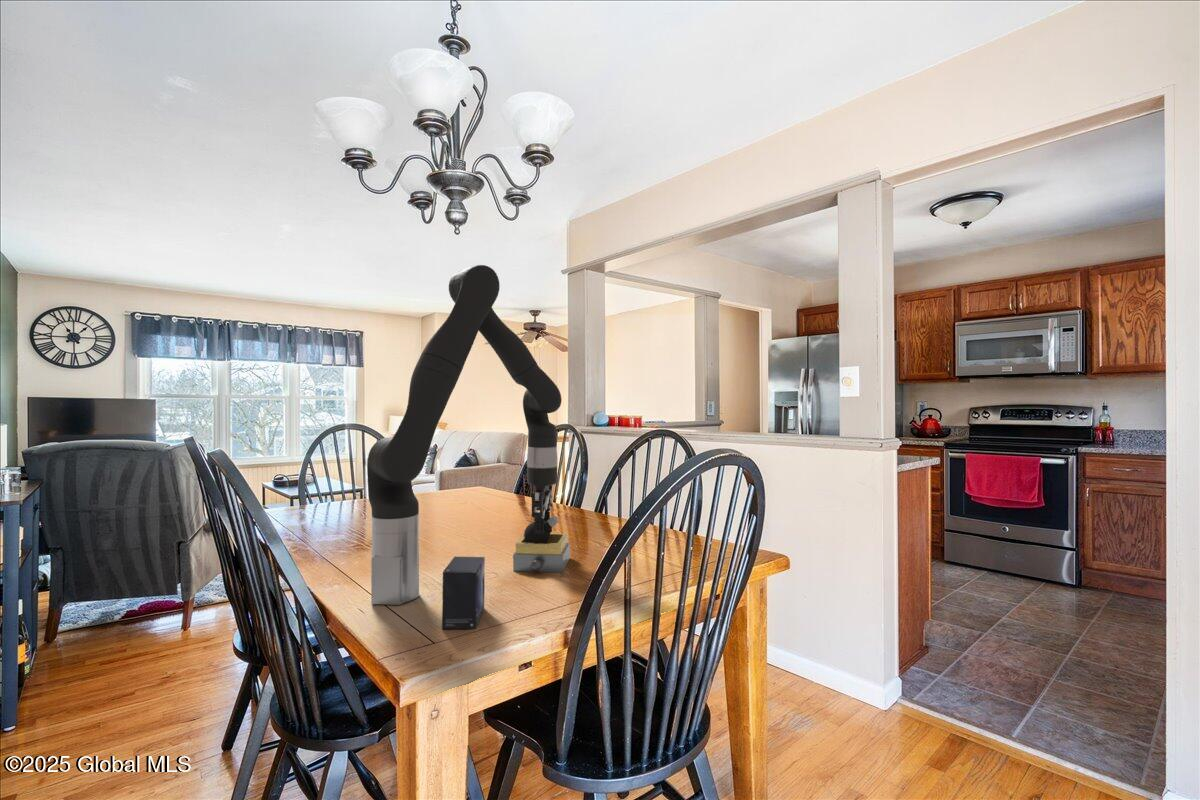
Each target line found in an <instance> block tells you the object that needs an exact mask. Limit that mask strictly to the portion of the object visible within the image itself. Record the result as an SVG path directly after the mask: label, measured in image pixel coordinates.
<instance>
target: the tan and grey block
mask: <svg viewBox="0 0 1200 800" xmlns="http://www.w3.org/2000/svg"><path fill="white" fill-rule="evenodd" d="M568 535H569V533H561V532H559V533H558V532H555V533H553V532H551V533H550V538H549V541H548V542H547V543H526V542H525V539H524V534H523V535H522V536H521V537H520V538H519V539H518V540H517V541H516V543H515V552H514V553H513V555H512V558H513V561H512V563H513V564H512V567H513V568H512V569H513V572H534V573H541V572H542V573H543V572H544V573H564V571H565V569H566V567H567V565H568V564H569V561H570V559H571V543H570V542H569V541H568V540H569V539H568V538H569V537H568Z"/></svg>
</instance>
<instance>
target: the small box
mask: <svg viewBox="0 0 1200 800" xmlns="http://www.w3.org/2000/svg"><path fill="white" fill-rule="evenodd" d="M485 561H486V560H485V556H454V557H453V558H452V559H451V560H450V562H449V563H448V564H447V566H446V567H445V569H443V571H442V592H441V593H442V596H441V597H442V602H441V603H442V610H441V611H442V612H441V613H442V614H441V630H473V629H474V630H475V629H476V628H477V625H479V621H480V619H481V617H482V614H483V612H484V610H485V587H486V586H485V579H486V577H485V576H486V575H485V571H486V570H485V569H486V568H485Z"/></svg>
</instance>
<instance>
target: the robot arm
mask: <svg viewBox="0 0 1200 800" xmlns="http://www.w3.org/2000/svg"><path fill="white" fill-rule="evenodd" d="M500 287H501V286H500V279H499V276H498V275H497V272H496V271H495V270H494V269H493V268H492V267H490V266H488V265H485V264H477V265H476V264H475V265H472V266H468V267H467V268H464V269H462V270H460V271H458V272H456V273H454V274H453V275H452V276H451V277H450V279H449V283H448V293H449V297H450V298H451V299H452V301H453V302H454V305H453V307H452V309H451V312H450V314H449V315H448V317H447V318H446V319H445V320H444V322H443V323H442V324H441V326H440V327H439V328H438V329H437V330H436V332H434V334H433V335H432V337H431V338H430V339H429V340H428V342H427V344H426V345H425V347H423V350H422V352H421V355H420V356H419V358H418V360H417V362H416V365H415V366H414V368H413V371H412V374H411V378H410V382H409V389H408V399H407V406H406V411H405V413H404V415H403V416H402V417H403V418H402V419H401V422H400V423H399V425H398V428H397V429H396V431H395V433H394V435H393V436H388V437H383V438H380V439H379V440H377V441H376V442H375V443H374V444H373V445H371V446H372V447H371V448H370V450H369V452H368V456H367V472H366V473H367V496H368V502H369V504H370V507H371V560H370V561H371V563H370V565H371V566H370V568H371V569H370V570H371V571H370V573H371V576H370V577H371V578H370V580H371V581H370V583H371V584H370V585H371V586H370V591H371V595H370V596H371V597H370V598H371V605H392V606H395V605H396V606H401V605H403V604H404V603H407V602H412V601H414V600H415V599H417V598H418V597H419V595H420V531H419V530H420V528H419V527H420V522H419V521H420V518H419V517H420V514H419V512H420V507H419V506H420V504H419V500H418V499H417V496H416V495H415V493H414V490H413V486H412V482H413V481H414V480H415V479H416V478H417V477H418V476H419V475H420V473H421V472H422V470H423V468H424V466H425V463H426V461H427V457H428V455H429V451H430V448H431V444H432V442H433V440H434V439H433V438H434V435H435V433H436V430H437V427H438V424H439V422H440V420H441V418H442V416H443V414H444V411H445V410H446V406H448V405H447V404H448V402H449V400H450V397H451V395H452V394H453V392H454V389H455V388H456V386H457V383H458V381H459V378H460V375H461V374H462V372H463V369H464V367H465V364H466V361H467V359H468V357H469V354H470V352H471V350H472V348H473V345H474V344H475V343H474V342H475V340H476V337H477V335H478V333H479V332H480V334H481V335H482V337H483V338H484V339H485V341H486V342H487V343H488V345H490V347H491V348H492V349H493V350H494V351H493V352H495V354H496V355H497V356H498V358H499V359H500V361H501V363H502V365H503V366H504V368H505V369H506V371H507V372H508V374H509V376H510V377H511V378H512V380H513V382H514V383H516V384H517V385H520V386H523V387H524V388H525V389H526V390H525V392H524V394H523V398H522V409H523V414H524V418H525V423H526V426H527V429H528V430H527V431H528V432H527V439H528V440H527V446H528V447H527V454H526V462H527V463H526V470H527V471H526V478H527V479H526V482H527V484H528V485H529V486H534V487H535V489H534V490H535V491H532V492H531V518H533V520H534V521H533V522H534V533H535V534H543V533H544V521H547V520H549V519H550V518H551V511H552V507H553V486H554V485H556V484H557V483H558V450H557V428H556V425H555V424H553V423H552V422H550V419H549V414H551V413H555V412H557V411H558V410H559V409H560V407H561V405H562V395H561V391H560V389H559V387H558V386H557V384H555V382H554V381H553V380H552V378H550V376H548V374H547V373H546V372H545V371H544V370H543V369H541V367H540V366H539V364H538V363H537V361H536V359H535V358H534V356H533V354H532V353H531V351H530V350H529V348H528V347H527V345H526V344H525V343H524V341H522V339H521V338H520V337H519V336H518V335H517V333H515V332H514V331H513V330H512V329H510V328H509V327H508V326H507V325H506V323H504V322H503V321H502V319H501V318H500V317H499V316H498V314H497V313H496V312H495V310H494V309H493V306H494V304H495V302H496V300H497V298H498V297H499V292H500Z"/></svg>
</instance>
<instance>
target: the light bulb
mask: <svg viewBox="0 0 1200 800" xmlns="http://www.w3.org/2000/svg"><path fill="white" fill-rule="evenodd" d="M558 523H559V517H558V516H556V515H552V516H550V519H549V520H547V521H544V533H543V534H535V533H534V521H533V522H531V523H529V524H528V525H527V526H526V528H525V529H524V533H523V535H524V539H525V542H526V543H547V542H548V541H549V538H550V533H553V529H552V528H554V527H555V526H556V525H557V524H558Z"/></svg>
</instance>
